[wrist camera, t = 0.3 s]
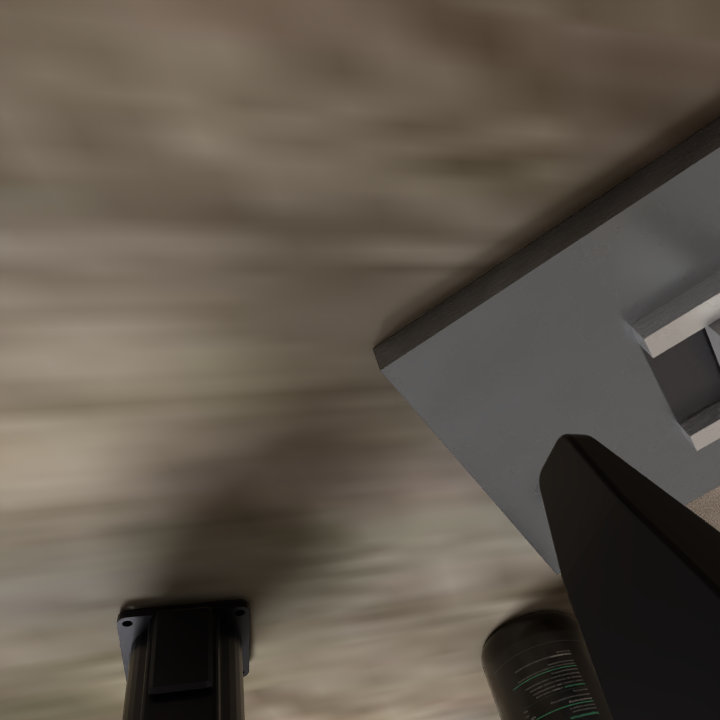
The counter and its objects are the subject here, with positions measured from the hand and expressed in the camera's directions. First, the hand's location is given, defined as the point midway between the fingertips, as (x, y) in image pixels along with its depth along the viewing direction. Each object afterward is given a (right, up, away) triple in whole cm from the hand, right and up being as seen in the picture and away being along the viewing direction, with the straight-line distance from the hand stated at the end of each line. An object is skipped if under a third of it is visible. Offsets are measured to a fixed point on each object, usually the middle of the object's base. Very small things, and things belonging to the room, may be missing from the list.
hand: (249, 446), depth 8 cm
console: (+17, +2, +20) cm, 26 cm away
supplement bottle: (+12, -17, +33) cm, 39 cm away
